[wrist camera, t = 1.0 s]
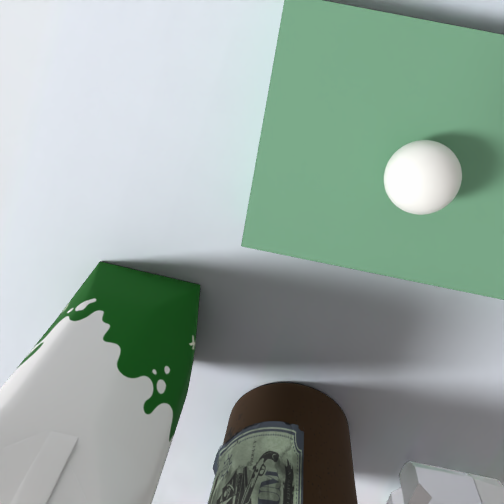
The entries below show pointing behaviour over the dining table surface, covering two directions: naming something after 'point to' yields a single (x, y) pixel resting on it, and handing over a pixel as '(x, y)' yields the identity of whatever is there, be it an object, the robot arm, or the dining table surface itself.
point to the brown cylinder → (285, 450)
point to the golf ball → (422, 177)
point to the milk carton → (100, 393)
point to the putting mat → (380, 145)
